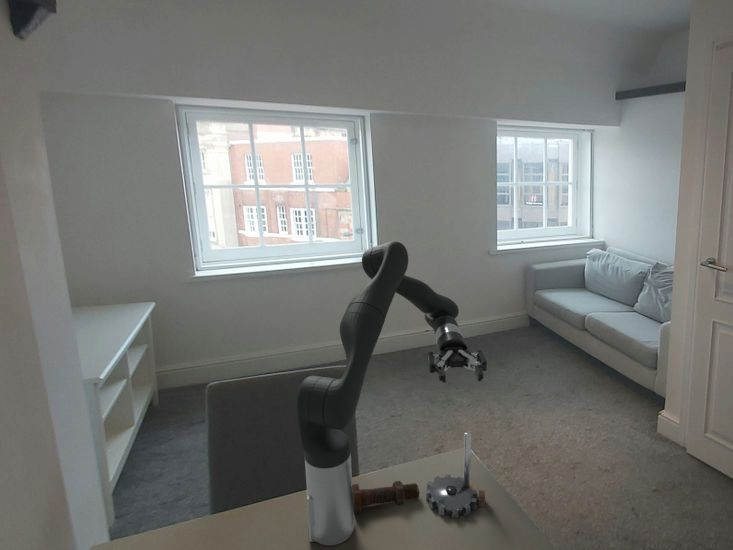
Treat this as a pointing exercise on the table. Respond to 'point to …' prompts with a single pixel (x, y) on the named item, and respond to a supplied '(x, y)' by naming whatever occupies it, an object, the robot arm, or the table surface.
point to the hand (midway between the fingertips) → (462, 379)
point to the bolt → (383, 495)
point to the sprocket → (454, 488)
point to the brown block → (482, 498)
